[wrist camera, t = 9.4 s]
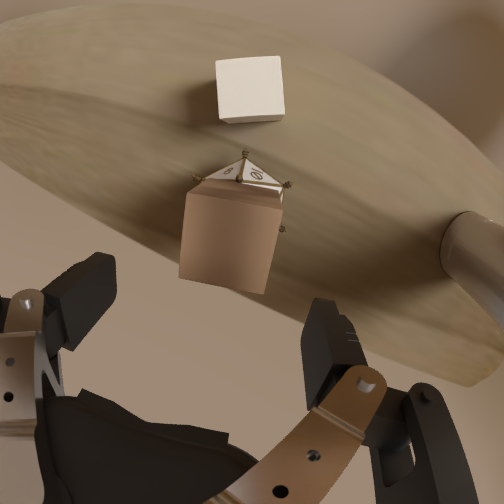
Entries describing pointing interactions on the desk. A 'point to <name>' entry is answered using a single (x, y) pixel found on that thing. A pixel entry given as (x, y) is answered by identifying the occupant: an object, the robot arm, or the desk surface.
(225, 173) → the game die
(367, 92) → the desk surface
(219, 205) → the walnut block
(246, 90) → the white block
